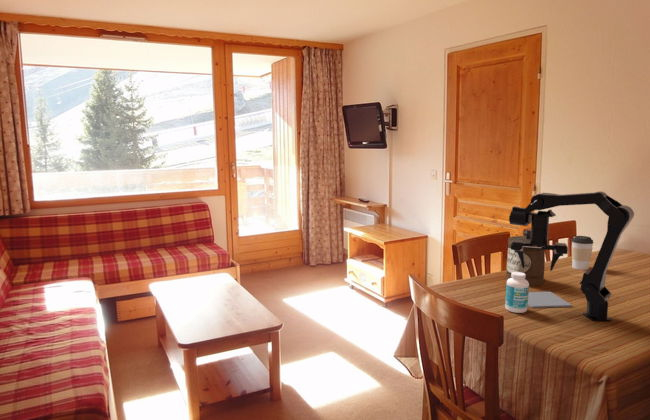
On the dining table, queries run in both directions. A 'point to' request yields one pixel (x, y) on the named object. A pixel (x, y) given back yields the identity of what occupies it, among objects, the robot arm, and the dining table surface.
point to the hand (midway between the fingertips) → (537, 269)
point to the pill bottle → (517, 293)
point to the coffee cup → (581, 252)
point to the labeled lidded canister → (526, 262)
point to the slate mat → (545, 300)
